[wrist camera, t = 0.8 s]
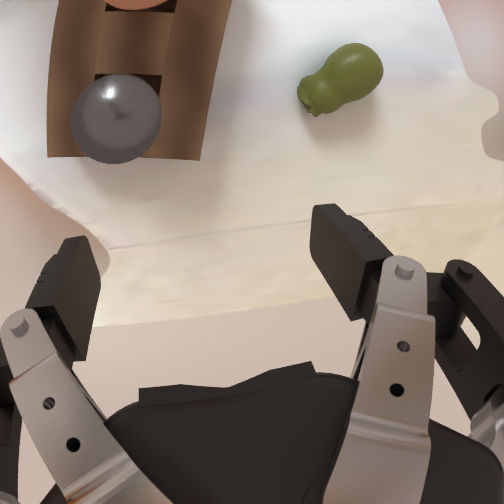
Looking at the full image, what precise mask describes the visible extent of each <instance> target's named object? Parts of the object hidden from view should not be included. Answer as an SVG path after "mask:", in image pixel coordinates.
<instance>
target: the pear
mask: <svg viewBox="0 0 504 504" xmlns="http://www.w3.org/2000/svg"><path fill="white" fill-rule="evenodd" d="M382 76H383V65H382V62H381V60H380V58H379V56H378V55H377V54H376V53H375V52H374V51H373V50H372V49H371V48H369V47H368V46H366V45H363V44H359V43H351V44H347V45H344V46H342V47H340V48H339V49H337V50H336V51H335V52H334V53H332V54H331V55H330V56H329V58H328V59H327V60H326V62H325V63H324V65H323V67H322V68H321V69H320V70H319V71H318V72H317V73H315V74H314V75H310V76H306V77H304V78H303V79H302V80H301V82H300V85H299V86H298V87H297V94H298V99H299V100H300V101H301V102H303V104H304V106H305V107H306V108H307V112H308V113H313V116H314V117H315V116H316V117H317V116H319V115H320V114H322V113H325V114H328V113H331V112H334V111H336V110H337V109H338V108H340V107H341V106H342V105H343V104H345V103H348V102H352V101H356V100H359V99H361V98H363V97H365V96H366V95H368V94H369V93H370V92H371V91H373V90H374V89H375V88H376V86H377V85H378V84H379V83H380V81H381V79H382ZM309 111H310V112H309Z"/></svg>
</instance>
